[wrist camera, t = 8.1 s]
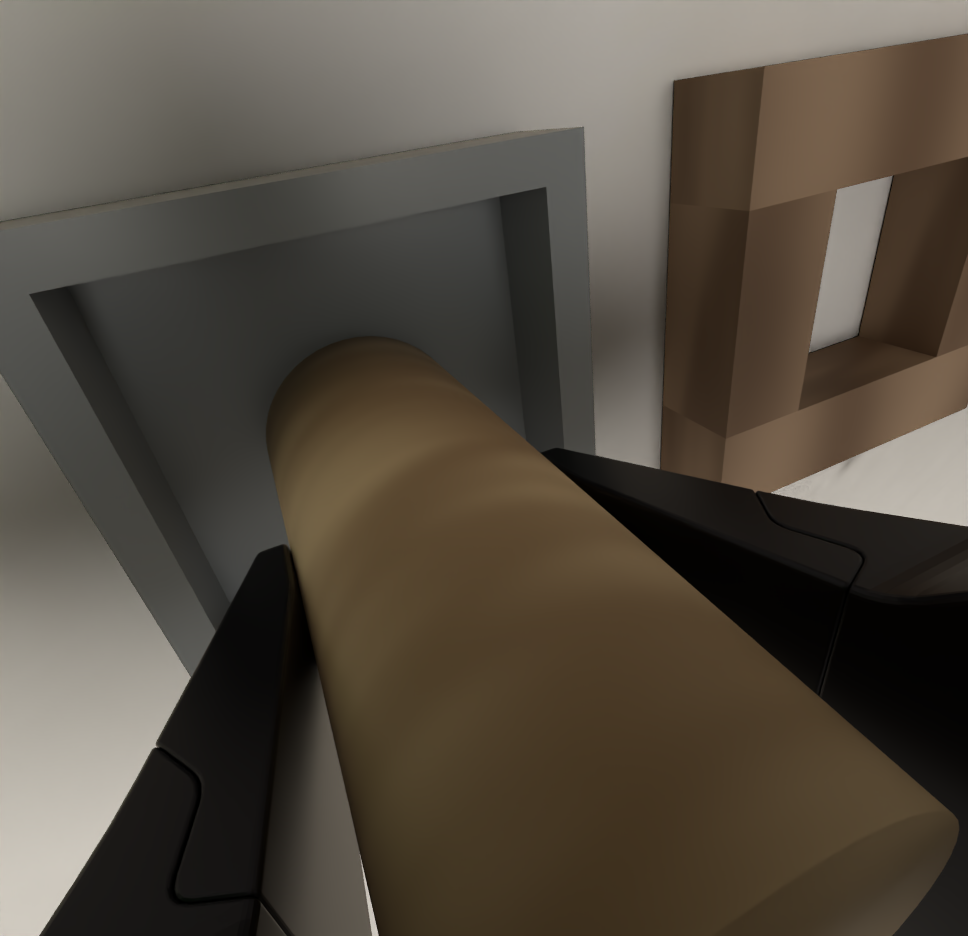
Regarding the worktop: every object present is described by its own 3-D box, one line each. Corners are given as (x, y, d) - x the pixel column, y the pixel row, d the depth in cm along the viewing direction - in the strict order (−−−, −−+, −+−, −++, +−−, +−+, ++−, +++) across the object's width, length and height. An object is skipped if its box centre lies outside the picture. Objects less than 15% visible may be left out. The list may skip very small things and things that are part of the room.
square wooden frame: (987, 30, 16) (1104, 12, 14) (893, 383, 21) (966, 407, 19) (674, 80, 13) (764, 66, 11) (660, 475, 18) (718, 515, 16)
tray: (517, 131, 12) (584, 127, 10) (551, 506, 17) (599, 553, 15) (-18, 224, 9) (-79, 244, 7) (213, 636, 14) (215, 716, 12)
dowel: (442, 313, 11) (1043, 705, 3) (471, 481, 13) (879, 971, 5) (234, 368, 10) (366, 1172, 2) (301, 541, 12) (494, 1273, 4)
